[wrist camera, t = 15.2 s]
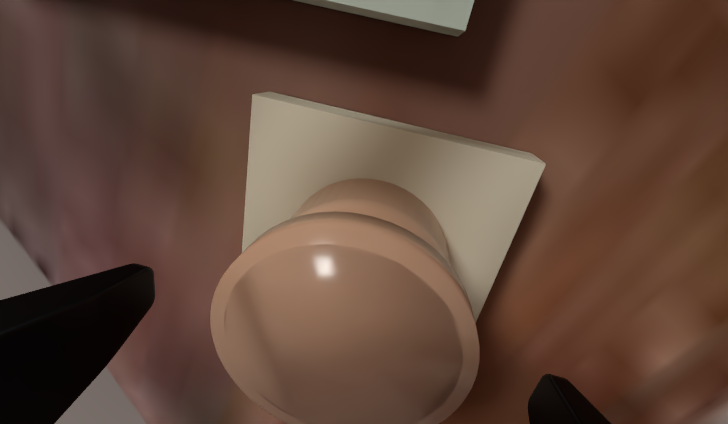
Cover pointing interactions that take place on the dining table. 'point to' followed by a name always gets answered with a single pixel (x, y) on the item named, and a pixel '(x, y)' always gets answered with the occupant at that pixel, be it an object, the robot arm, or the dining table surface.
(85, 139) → the dining table surface
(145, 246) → the dining table surface
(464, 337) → the round cabinet knob
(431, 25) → the propagator bed
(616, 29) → the dining table surface
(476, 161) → the birch coaster
